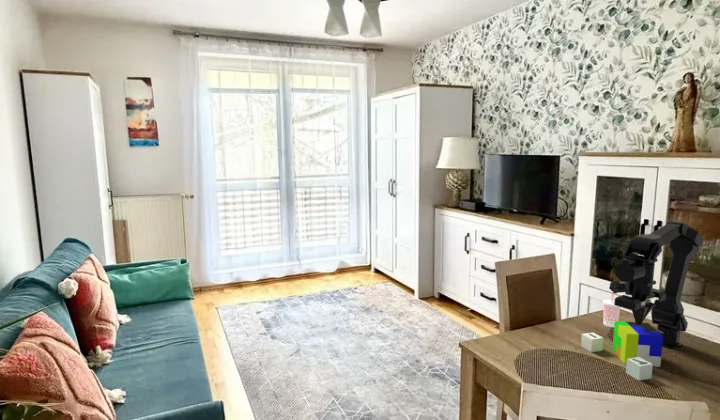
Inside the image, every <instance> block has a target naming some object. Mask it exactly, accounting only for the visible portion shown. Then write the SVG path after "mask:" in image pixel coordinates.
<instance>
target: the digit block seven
mask: <svg viewBox="0 0 720 420" xmlns="http://www.w3.org/2000/svg"><path fill="white" fill-rule="evenodd" d="M625 366H626V367H625V373H626V374H627V375H629V376H631V377H632V378H633V379H635V380H637V381H645V380H649V379H652V378H653V377H652V375H653V367H654V366H653V364H651V363H650V362H648V361H646V360H644V359H642V358H640V357H636V358H630V359H627V364H625Z"/></svg>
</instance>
